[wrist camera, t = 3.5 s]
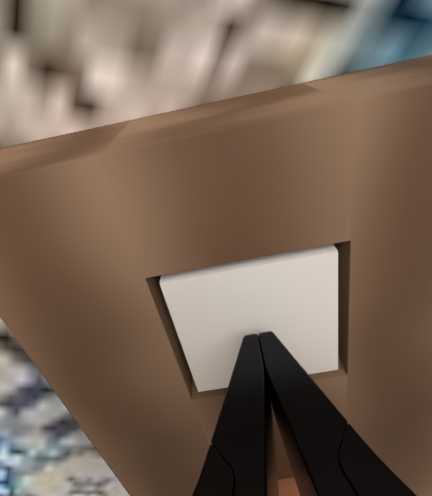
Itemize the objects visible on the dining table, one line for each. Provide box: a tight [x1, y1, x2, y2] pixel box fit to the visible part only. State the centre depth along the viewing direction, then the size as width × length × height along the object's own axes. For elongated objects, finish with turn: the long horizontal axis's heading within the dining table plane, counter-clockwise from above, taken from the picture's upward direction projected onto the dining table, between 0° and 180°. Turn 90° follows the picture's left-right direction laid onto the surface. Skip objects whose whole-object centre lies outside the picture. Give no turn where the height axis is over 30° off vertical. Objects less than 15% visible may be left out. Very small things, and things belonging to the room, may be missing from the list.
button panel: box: [0, 55, 432, 496], centre depth 15 cm, size 14×24×4 cm, turn 11°
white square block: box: [160, 244, 338, 392], centre depth 12 cm, size 5×5×4 cm
